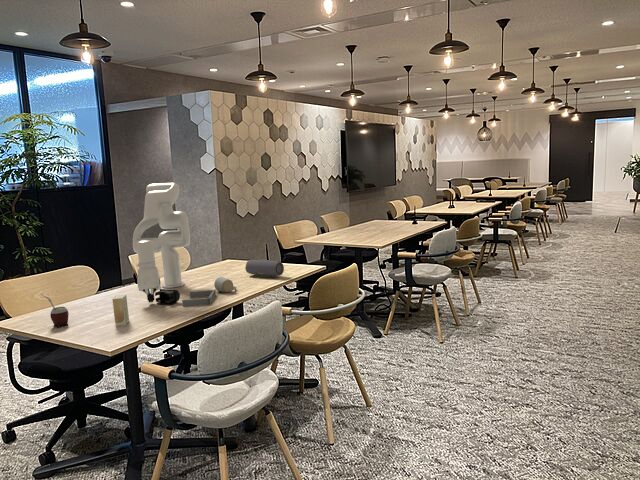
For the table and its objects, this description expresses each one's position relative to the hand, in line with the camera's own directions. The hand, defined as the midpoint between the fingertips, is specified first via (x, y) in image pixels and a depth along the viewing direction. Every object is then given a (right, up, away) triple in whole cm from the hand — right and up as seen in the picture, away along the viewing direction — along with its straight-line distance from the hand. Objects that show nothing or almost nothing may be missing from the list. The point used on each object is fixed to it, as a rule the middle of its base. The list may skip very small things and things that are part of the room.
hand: (151, 301), depth 253 cm
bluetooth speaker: (+51, +9, +51) cm, 73 cm away
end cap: (+8, -1, 0) cm, 8 cm away
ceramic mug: (+34, +3, +19) cm, 39 cm away
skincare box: (-2, -6, -31) cm, 32 cm away
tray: (+23, 0, +1) cm, 23 cm away
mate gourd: (-30, -7, -30) cm, 43 cm away
